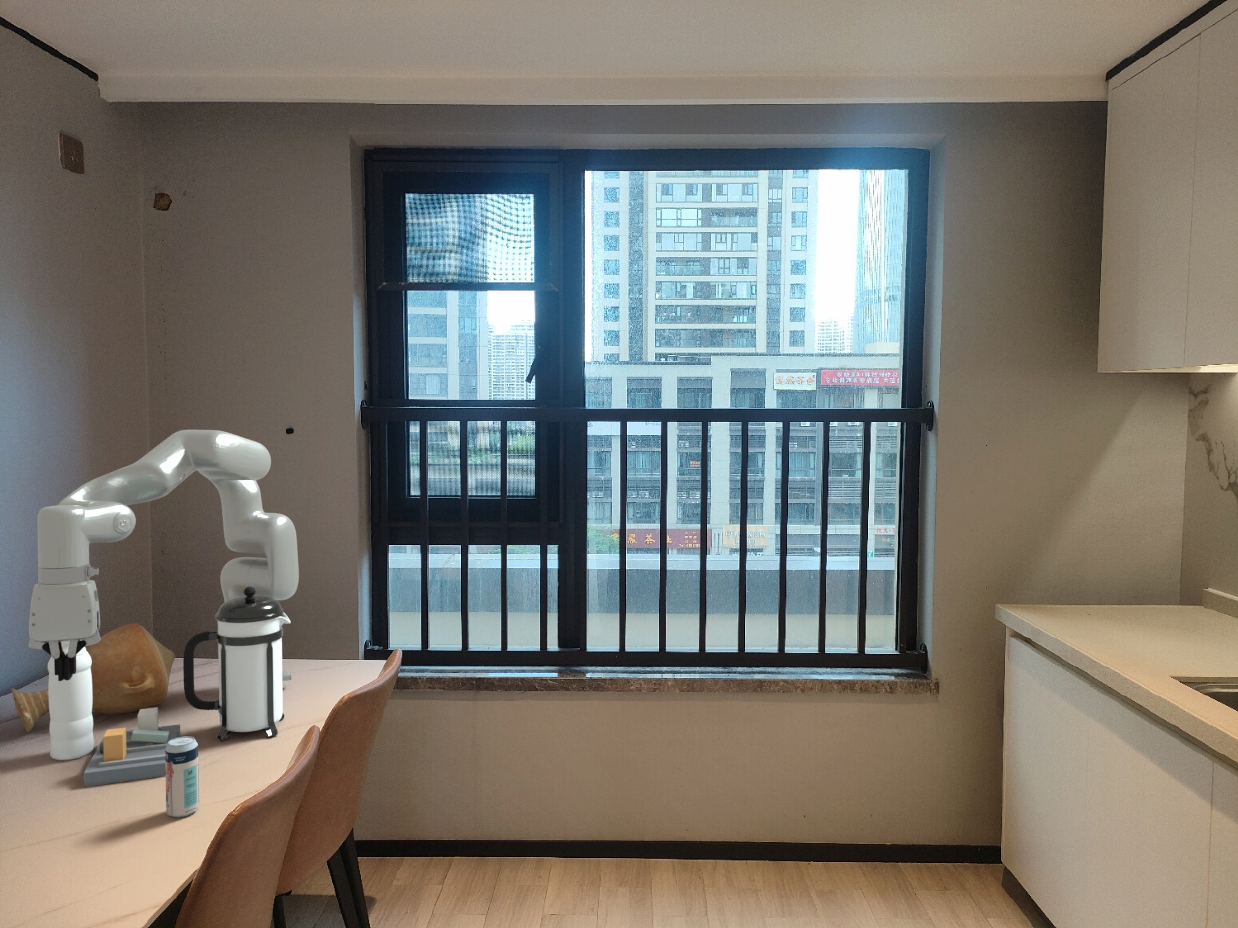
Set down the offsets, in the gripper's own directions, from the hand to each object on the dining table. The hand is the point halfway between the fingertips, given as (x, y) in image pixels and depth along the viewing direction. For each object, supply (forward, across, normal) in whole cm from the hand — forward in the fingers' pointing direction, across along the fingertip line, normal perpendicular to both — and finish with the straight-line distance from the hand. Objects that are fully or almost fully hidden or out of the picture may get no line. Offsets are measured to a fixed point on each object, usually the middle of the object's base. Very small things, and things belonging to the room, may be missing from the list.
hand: (65, 678), depth 149 cm
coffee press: (+18, -28, -14) cm, 37 cm away
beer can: (+19, -20, +21) cm, 35 cm away
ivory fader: (+16, -11, -11) cm, 22 cm away
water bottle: (+18, +2, -13) cm, 22 cm away
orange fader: (+16, -7, -1) cm, 17 cm away
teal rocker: (+14, -12, -6) cm, 19 cm away
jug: (+18, +1, -35) cm, 39 cm away
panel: (+18, -10, -6) cm, 21 cm away
